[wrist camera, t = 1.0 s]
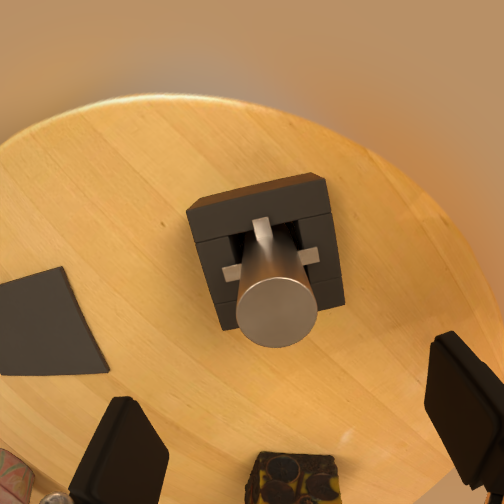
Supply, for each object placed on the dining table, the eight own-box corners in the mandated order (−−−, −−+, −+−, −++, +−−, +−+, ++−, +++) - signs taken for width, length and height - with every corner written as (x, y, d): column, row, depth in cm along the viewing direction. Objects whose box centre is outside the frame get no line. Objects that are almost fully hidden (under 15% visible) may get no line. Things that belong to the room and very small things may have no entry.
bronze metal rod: (220, 211, 25) (191, 267, 13) (297, 193, 24) (334, 235, 13) (240, 281, 26) (229, 377, 15) (311, 265, 26) (349, 353, 15)
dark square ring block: (198, 198, 24) (185, 210, 20) (311, 172, 24) (325, 178, 19) (228, 299, 27) (222, 331, 22) (330, 277, 26) (345, 305, 21)
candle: (311, 489, 37) (318, 543, 28) (244, 486, 37) (242, 543, 27) (336, 453, 34) (349, 516, 24) (258, 449, 33) (258, 517, 24)
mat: (-37, 295, 28) (-39, 297, 27) (62, 265, 26) (59, 268, 26) (3, 373, 32) (1, 375, 31) (110, 369, 30) (108, 373, 29)
